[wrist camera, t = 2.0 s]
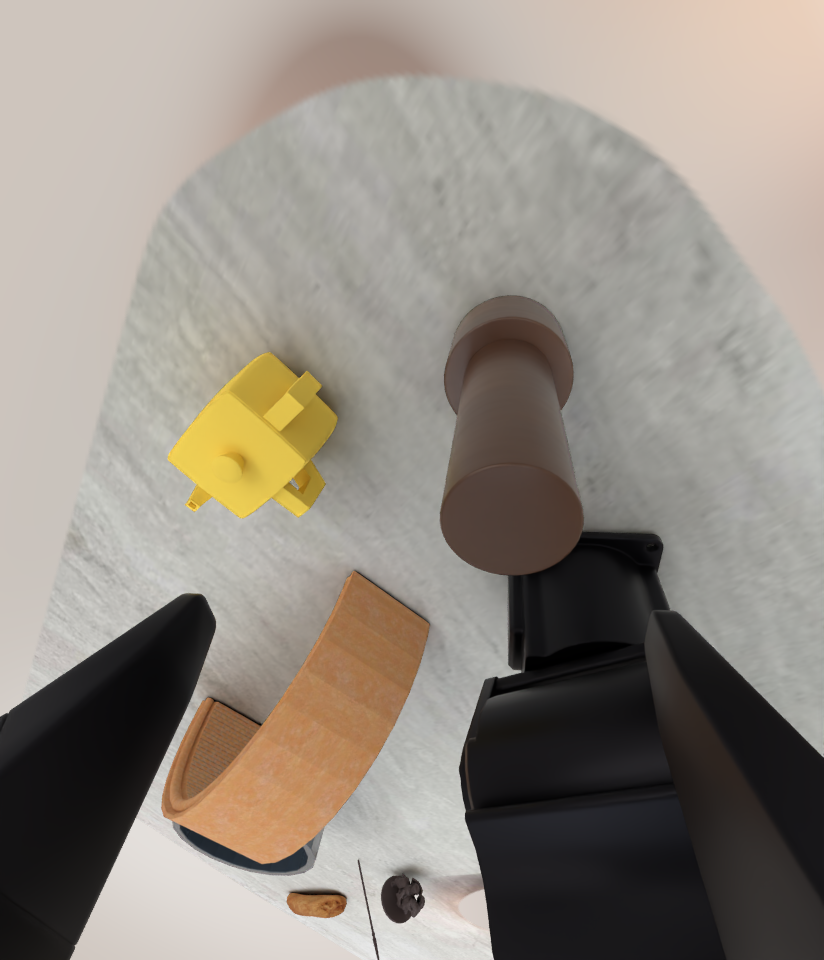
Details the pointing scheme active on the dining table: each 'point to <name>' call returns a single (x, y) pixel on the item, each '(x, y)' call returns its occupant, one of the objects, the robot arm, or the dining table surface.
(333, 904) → the brown rounded lump
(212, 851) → the bowl
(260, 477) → the teapot
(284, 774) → the arch
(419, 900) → the dark disc and stick
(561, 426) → the muddler
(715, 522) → the dining table surface
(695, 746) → the robot arm
